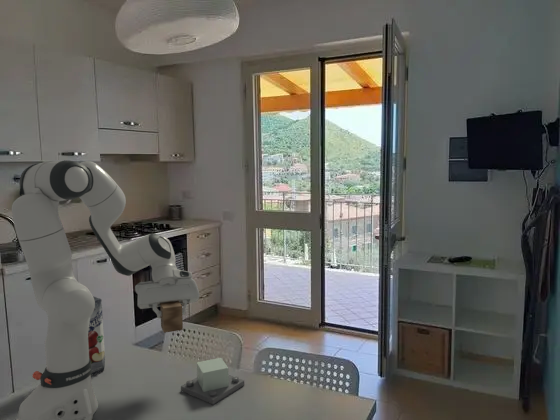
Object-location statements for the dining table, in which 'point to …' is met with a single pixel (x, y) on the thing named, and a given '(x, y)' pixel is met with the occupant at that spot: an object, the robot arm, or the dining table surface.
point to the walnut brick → (171, 316)
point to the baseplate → (212, 393)
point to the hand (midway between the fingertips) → (171, 315)
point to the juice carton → (96, 338)
